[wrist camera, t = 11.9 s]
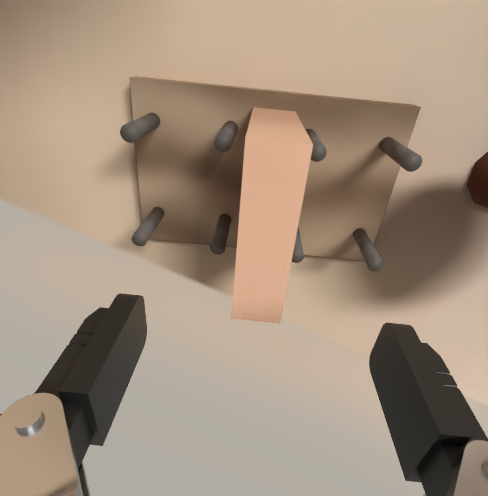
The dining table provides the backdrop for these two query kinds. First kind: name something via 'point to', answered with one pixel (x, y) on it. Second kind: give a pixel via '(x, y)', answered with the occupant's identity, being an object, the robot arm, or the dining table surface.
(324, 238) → the dish rack
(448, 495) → the robot arm
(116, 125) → the dining table surface
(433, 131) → the dining table surface
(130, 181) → the dining table surface
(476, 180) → the ice cream bowl
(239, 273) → the peach chamfered block
